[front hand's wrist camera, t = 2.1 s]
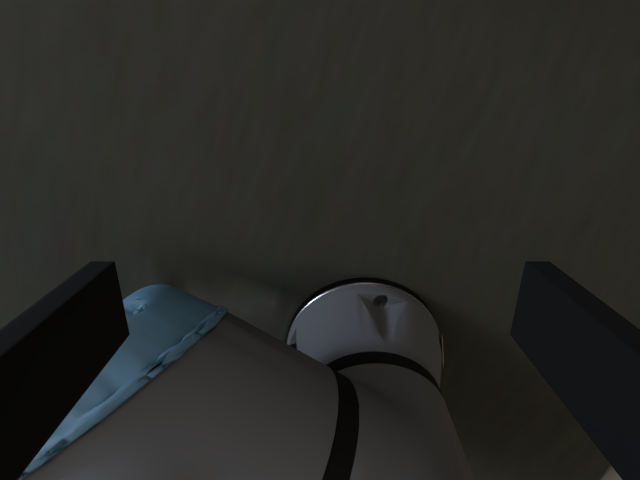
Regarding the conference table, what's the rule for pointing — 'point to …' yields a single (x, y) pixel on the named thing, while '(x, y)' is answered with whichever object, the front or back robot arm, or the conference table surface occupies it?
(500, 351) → the conference table surface
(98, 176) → the conference table surface
